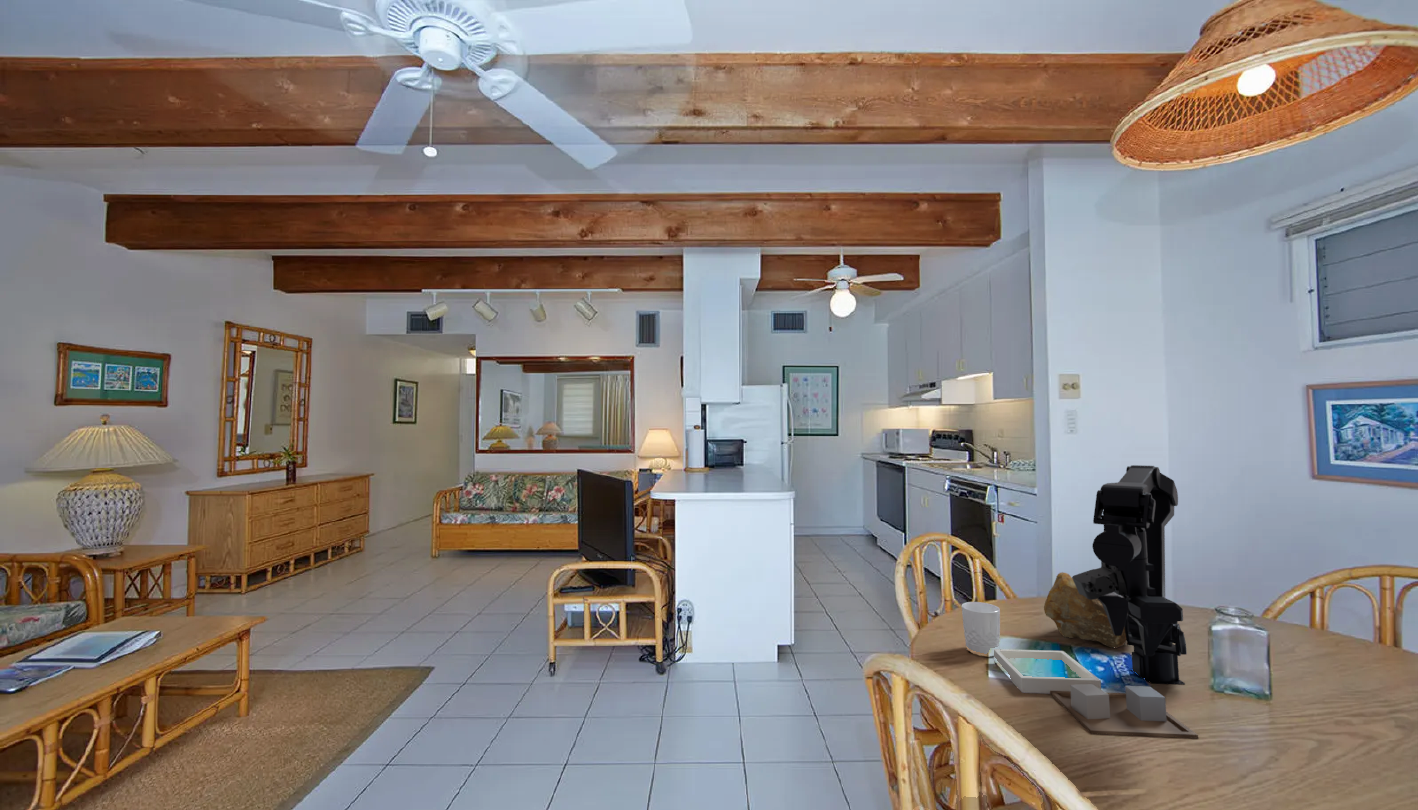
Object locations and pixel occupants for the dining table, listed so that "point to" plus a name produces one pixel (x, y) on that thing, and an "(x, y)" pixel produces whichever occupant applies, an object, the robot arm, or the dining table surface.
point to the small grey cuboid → (1090, 701)
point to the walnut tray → (1125, 720)
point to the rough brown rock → (1079, 614)
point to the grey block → (1146, 703)
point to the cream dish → (1044, 683)
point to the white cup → (981, 626)
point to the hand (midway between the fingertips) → (1132, 645)
